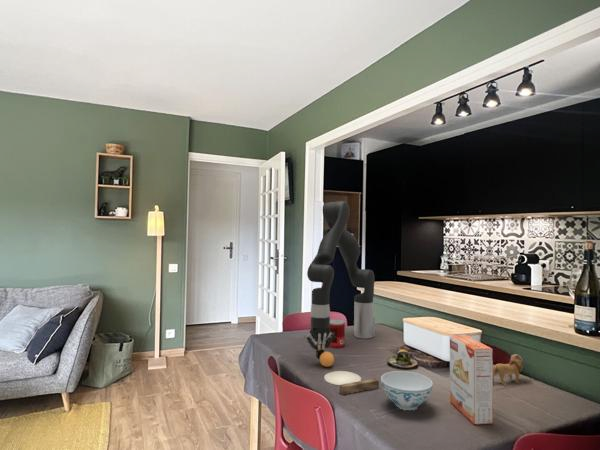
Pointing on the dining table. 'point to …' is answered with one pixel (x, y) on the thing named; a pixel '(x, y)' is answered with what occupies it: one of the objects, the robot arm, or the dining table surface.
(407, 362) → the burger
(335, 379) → the disc
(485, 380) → the cracker box
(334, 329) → the canned food
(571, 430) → the dining table surface
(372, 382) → the strip
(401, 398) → the chinaware
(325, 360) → the ball
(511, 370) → the lion figurine
